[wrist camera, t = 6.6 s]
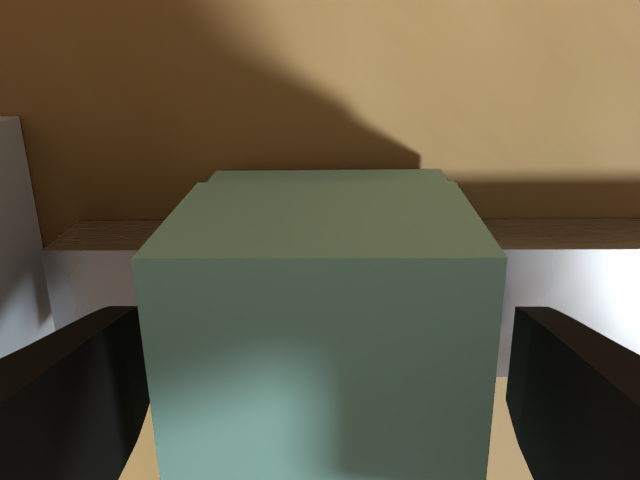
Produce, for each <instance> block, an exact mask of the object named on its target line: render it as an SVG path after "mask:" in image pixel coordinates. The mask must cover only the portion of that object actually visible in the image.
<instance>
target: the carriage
mask: <svg viewBox="0 0 640 480" xmlns="http://www.w3.org/2000/svg"><path fill="white" fill-rule="evenodd" d="M507 259H508V258H507V256H506V255H505V253H504V252H503V250H502V249H501V248H500V246H499V245H498V243H497V242H496V240H495V239H494V237H493V236H492V234H491V233H490V231H489V230H488V229H487V227H486V226H485V224H484V223H483V221H482V220H481V218H480V217H479V215H478V214H477V213H476V211H475V210H474V208H473V207H472V205H471V204H470V202H469V201H468V199H467V198H466V196H465V195H464V194H463V192H462V191H461V189H460V188H459V186H458V185H457V183H456V182H455V181H448V180H447V179H446V177H445V176H444V174H443V173H442V171H441V170H440V169H378V170H239V171H215V173H214V174H213V175H212V176H211V178H210V179H209V180H208V181H207V182H197V184H196V185H195V186H194V187H193V188H192V189H191V191H190V192H189V193H188V194H187V195H186V196H185V197H184V199H183V200H182V201H181V202H180V203H179V204H178V205H177V207H176V208H175V209H174V210H173V211H172V212H171V213H170V215H169V216H168V217H167V218H166V219H165V220H164V221H163V223H162V224H161V225H160V226H159V227H158V228H157V230H156V231H155V232H154V233H153V234H152V235H151V236H150V238H149V239H148V240H147V241H146V242H145V243H144V244H143V246H142V247H141V248H140V249H139V250H138V251H137V252H136V254H135V255H134V256H133V257H132V258H131V261H132V269H133V276H134V284H135V291H136V299H137V307H138V314H139V322H140V330H141V337H142V345H143V352H144V360H145V368H146V375H147V383H148V390H149V398H150V406H151V413H152V421H153V429H154V436H155V444H156V451H157V459H158V467H159V474H160V480H486V475H487V465H488V455H489V444H490V434H491V424H492V414H493V403H494V393H495V383H496V372H497V362H498V352H499V341H500V331H501V321H502V310H503V300H504V290H505V279H506V269H507Z"/></svg>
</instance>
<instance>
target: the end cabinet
mask: <svg viewBox="0 0 640 480" xmlns="http://www.w3.org/2000/svg"><path fill="white" fill-rule="evenodd" d="M42 249H43V244H42V239H41V233H40V228H39V222H38V217H37V211H36V206H35V201H34V195H33V190H32V184H31V179H30V173H29V168H28V162H27V157H26V151H25V146H24V141H23V135H22V130H21V124H20V119H19V116H0V358H2V357H4V356H6V355H8V354H11V353H13V352H15V351H17V350H19V349H21V348H23V347H25V346H27V345H29V344H31V343H33V342H35V341H37V340H39V339H41V338H43V337H45V336H47V335H49V334H51V333H53V332H54V331H55V326H54V321H53V316H52V310H51V305H50V299H49V294H48V289H47V283H46V278H45V272H44V267H43V262H42V256H41V250H42Z"/></svg>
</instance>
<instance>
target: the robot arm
mask: <svg viewBox="0 0 640 480" xmlns="http://www.w3.org/2000/svg"><path fill="white" fill-rule="evenodd" d="M506 402H507V406H508V409H509V413H510V417H511V421H512V424H513V428H514V431H515V434H516V438H517V441H518V444H519V447H520V449H521V451H522V454H523V456H524V458H525V461H526V463H527V465H528V468H529V470H530V472H531V474H532V477H533V479H534V480H640V355H639V354H637V353H635V352H633V351H631V350H629V349H628V348H626V347H624V346H622V345H620V344H618V343H617V342H615V341H613V340H611V339H609V338H608V337H606V336H604V335H602V334H600V333H599V332H597V331H595V330H593V329H592V328H590V327H588V326H586V325H584V324H583V323H581V322H579V321H577V320H575V319H574V318H572V317H570V316H568V315H566V314H564V313H562V312H560V311H558V310H556V309H553V308H551V307H540V306H515V314H514V324H513V333H512V343H511V353H510V362H509V372H508V382H507V392H506ZM149 404H150V398H149V390H148V383H147V375H146V368H145V360H144V352H143V345H142V337H141V330H140V322H139V314H138V307H137V306H108V307H105V308H102V309H99V310H97V311H95V312H92V313H90V314H88V315H86V316H84V317H82V318H80V319H78V320H76V321H74V322H72V323H70V324H68V325H66V326H64V327H62V328H60V329H58V330H56V331H54V332H53V333H51V334H49V335H47V336H45V337H43V338H41V339H39V340H37V341H35V342H33V343H31V344H29V345H27V346H25V347H23V348H21V349H19V350H17V351H15V352H13V353H11V354H8V355H6V356H4V357H2V358H0V480H118V479H119V477H120V475H121V473H122V471H123V469H124V467H125V465H126V463H127V461H128V459H129V457H130V455H131V453H132V451H133V449H134V446H135V444H136V442H137V440H138V437H139V434H140V431H141V428H142V426H143V423H144V420H145V416H146V413H147V410H148V407H149Z"/></svg>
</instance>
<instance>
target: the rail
mask: <svg viewBox="0 0 640 480" xmlns="http://www.w3.org/2000/svg"><path fill="white" fill-rule="evenodd" d="M481 220H482V221H483V223H484V224H485V226H486V227H487V229H488V230H489V231H490V233H491V234H492V236H493V237H494V239H495V240H496V242H497V243H498V245H499V246H500V248H501V249H502V250H503V252H504V253H505V255H506V256H507V258H508V259H507V269H506V279H505V290H504V300H503V310H502V321H501V331H500V341H499V352H498V362H497V372H496V377H508V372H509V362H510V353H511V343H512V333H513V324H514V314H515V306H540V307H551V308H553V309H556V310H558V311H560V312H562V313H564V314H566V315H568V316H570V317H572V318H574V319H575V320H577V321H579V322H581V323H583V324H584V325H586V326H588V327H590V328H592V329H593V330H595V331H597V332H599V333H600V334H602V335H604V336H606V337H608V338H609V339H611V340H613V341H615V342H617V343H618V344H620V345H622V346H624V347H626V348H628V349H629V350H631V351H633V352H635V353H637V354H639V355H640V218H609V219H481ZM163 221H164V220H122V221H78V222H77V223H75V224H74V225H73V226H72V227H70V228H69V229H68V230H66V231H65V232H64V233H63V234H61V235H60V236H59V237H57V238H56V239H55V240H54V241H52V242H51V243H50V244H48V245H47V246H46V247H45V248H43V249H42V250H41V256H42V262H43V267H44V272H45V278H46V283H47V289H48V294H49V299H50V305H51V310H52V316H53V321H54V326H55V331H56V330H58V329H60V328H62V327H64V326H66V325H68V324H70V323H72V322H74V321H76V320H78V319H80V318H82V317H84V316H86V315H88V314H90V313H92V312H95V311H97V310H99V309H102V308H105V307H108V306H137V299H136V291H135V284H134V276H133V269H132V261H131V258H132V257H133V256H134V255H135V254H136V252H137V251H138V250H139V249H140V248H141V247H142V246H143V244H144V243H145V242H146V241H147V240H148V239H149V238H150V236H151V235H152V234H153V233H154V232H155V231H156V230H157V228H158V227H159V226H160V225H161V224H162V223H163Z"/></svg>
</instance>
